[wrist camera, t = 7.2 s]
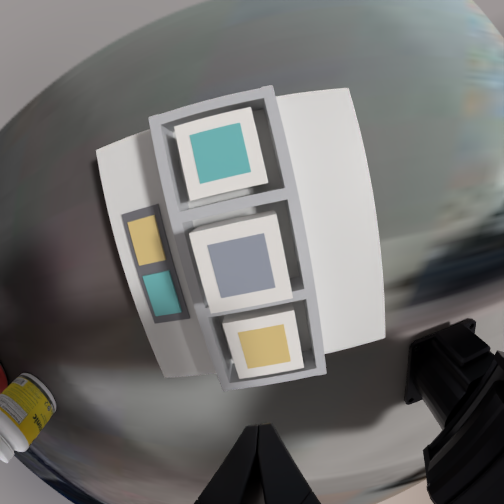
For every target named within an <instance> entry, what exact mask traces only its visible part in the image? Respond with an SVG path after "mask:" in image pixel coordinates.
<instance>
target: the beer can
mask: <svg viewBox="0 0 504 504" xmlns="http://www.w3.org/2000/svg"><path fill="white" fill-rule="evenodd" d="M7 387H8V381H7V376H6V374H5V371H4V369H3V367H2V365H1V363H0V394H1V393H2V392H3V391H4V390H5V389H6V388H7Z"/></svg>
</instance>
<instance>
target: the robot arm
mask: <svg viewBox="0 0 504 504" xmlns="http://www.w3.org/2000/svg"><path fill="white" fill-rule="evenodd" d="M475 327H476V322H475V320H473V319H468V320H466V321H464V322H461V323H459V324H456V325H454V326H452V327H449V328H447V329H444V330H442V331H439V332H437V333H434V334H432V335H429V336H426V337H423V338H421V339H418V340H415V341H413V342H412V343H411V345H410V347H409V360H408V371H407V381H406V390H405V397H404V401H405V403H406V404H407V405H409V404H412V403H415V402H417V401H420V400H422V399H423V400H424V402H425V403H426V405H427V406H428V408H429V409H430V411H431V412H432V414H433V416H434V417H435V419H436V420H437V422H438V423H439V425H440V427H441V428H442V431H441V433H440V434H439V435H438V436H437V437H436V438H435V439H434V440H433V442H432V443H431V444H430V445H428V446H427V447H426V448H425V449H424V450H423V454H424V461H425V469H426V477H427V491H428V493H429V496H430V499H431V500H432V502H433V503H434V504H504V352H501V351H498V350H497V352H496V354H495V355H494V354H493V353H491V352H490V347H489V346H488V345H487V344H486V343H485V342H484V341H483V340H481V339H480V338H479V337H478V336H476V335H475ZM416 346H417V348H415V347H416ZM194 504H321V503H320V501H319V500H318V499H317V497H316V495H315V494H314V492H312V489H311V488H310V486H309V485H308V483H307V481H306V480H305V478H304V477H303V475H302V473H301V472H300V470H299V469H298V467H297V465H296V464H295V462H294V460H293V459H292V457H291V455H290V454H289V452H288V450H287V448H286V447H285V445H284V443H283V442H282V440H281V438H280V436H279V435H278V433H277V431H276V429H275V428H274V426H273V424H272V423H264V424H260V425H257V424H256V425H248V426H246V427H245V429H244V430H243V432H242V434H241V435H240V437H239V438H238V440H237V442H236V443H235V445H234V446H233V448H232V449H231V451H230V452H229V454H228V455H227V457H226V458H225V460H224V462H223V463H222V464H221V466H220V467H219V469H218V470H217V472H216V473H215V475H214V476H213V478H212V479H211V481H210V482H209V483H208V485H207V486H206V488H205V489H204V490H203V492H202V493H201V495H200V496H199V497H198V500H196V501H195V503H194Z"/></svg>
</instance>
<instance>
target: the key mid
mask: <svg viewBox="0 0 504 504" xmlns="http://www.w3.org/2000/svg"><path fill="white" fill-rule="evenodd" d="M189 236H190V240H191V244H192V248H193V252H194V255H195V259H196V263H197V267H198V270H199V274H200V278H201V281H202V285H203V288H204V292H205V295H206V299H207V302H208V306H209V309H210V312H211V314H212V313H218V312H224V311H230V310H235V309H241V308H246V307H251V306H257V305H262V304H267V303H272V302H277V301H282V300H287V299H292V298H293V295H292V290H291V284H290V279H289V274H288V269H287V264H286V258H285V253H284V248H283V243H282V238H281V234H280V229H279V224H278V219H277V214H276V212H275V211H274V210H270V211H265V212H261V213H256V214H251V215H247V216H242V217H238V218H233V219H229V220H224V221H220V222H215V223H211V224H207V225H202V226H199V227H197V228H196V229H195V230H193V231H192V232H190V233H189Z"/></svg>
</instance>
